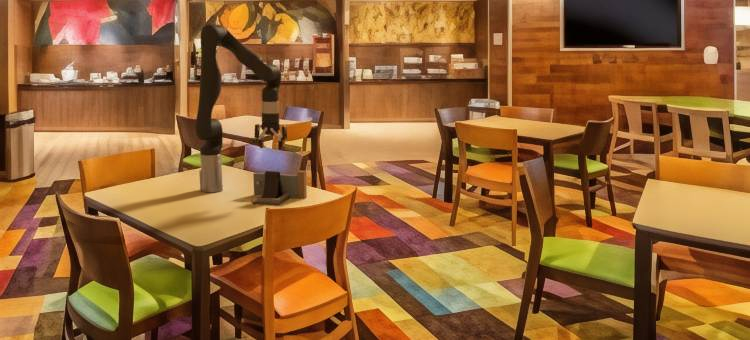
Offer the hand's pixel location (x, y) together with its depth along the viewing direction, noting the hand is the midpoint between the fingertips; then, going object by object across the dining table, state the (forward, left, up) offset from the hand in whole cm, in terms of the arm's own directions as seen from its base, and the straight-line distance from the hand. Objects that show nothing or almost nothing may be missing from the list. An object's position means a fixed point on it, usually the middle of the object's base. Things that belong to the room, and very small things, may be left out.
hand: (270, 148), depth 271 cm
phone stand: (+2, -4, -22) cm, 22 cm away
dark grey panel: (+3, +2, -22) cm, 22 cm away
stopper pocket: (+2, -5, -22) cm, 23 cm away
